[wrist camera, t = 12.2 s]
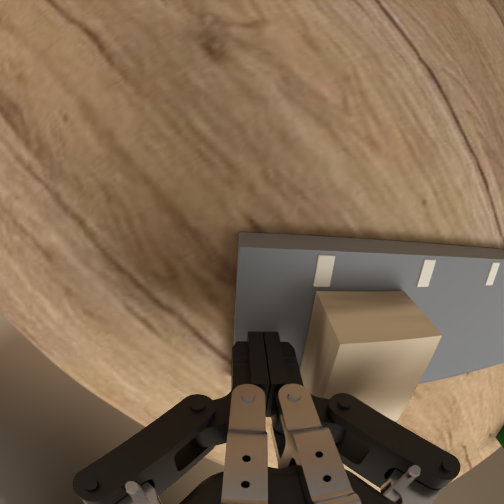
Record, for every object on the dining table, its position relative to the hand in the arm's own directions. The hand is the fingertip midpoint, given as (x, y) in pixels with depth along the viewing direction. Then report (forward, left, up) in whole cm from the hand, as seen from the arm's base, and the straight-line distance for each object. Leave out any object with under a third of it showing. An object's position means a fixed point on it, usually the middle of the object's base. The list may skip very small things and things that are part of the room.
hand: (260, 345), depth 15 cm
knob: (0, +5, -1) cm, 5 cm away
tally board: (0, +12, -3) cm, 12 cm away
